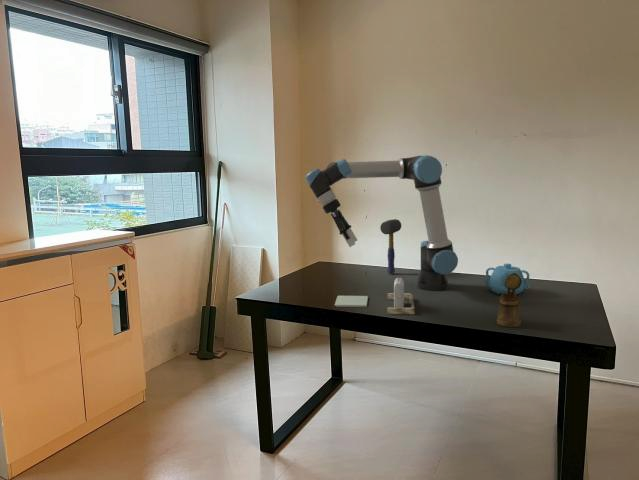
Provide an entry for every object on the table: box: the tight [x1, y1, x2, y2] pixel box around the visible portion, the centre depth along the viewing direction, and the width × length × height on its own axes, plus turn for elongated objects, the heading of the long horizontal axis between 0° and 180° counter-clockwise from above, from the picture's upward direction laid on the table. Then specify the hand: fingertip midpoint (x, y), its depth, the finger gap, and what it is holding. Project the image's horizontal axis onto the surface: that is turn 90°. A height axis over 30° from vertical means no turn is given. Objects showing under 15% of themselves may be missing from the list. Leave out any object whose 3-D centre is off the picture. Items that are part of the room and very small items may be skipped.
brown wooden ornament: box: [496, 273, 522, 328], centre depth 189 cm, size 9×14×18 cm, turn 148°
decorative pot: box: [484, 263, 531, 295], centre depth 229 cm, size 16×16×14 cm
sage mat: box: [334, 295, 369, 308], centre depth 222 cm, size 14×14×1 cm
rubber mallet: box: [379, 218, 402, 275], centre depth 268 cm, size 12×8×30 cm, turn 143°
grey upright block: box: [393, 277, 405, 308], centre depth 213 cm, size 10×4×12 cm, turn 170°
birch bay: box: [386, 292, 415, 315], centre depth 214 cm, size 11×22×2 cm, turn 172°
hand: (353, 243), depth 218 cm, fingers open, 13 cm apart
